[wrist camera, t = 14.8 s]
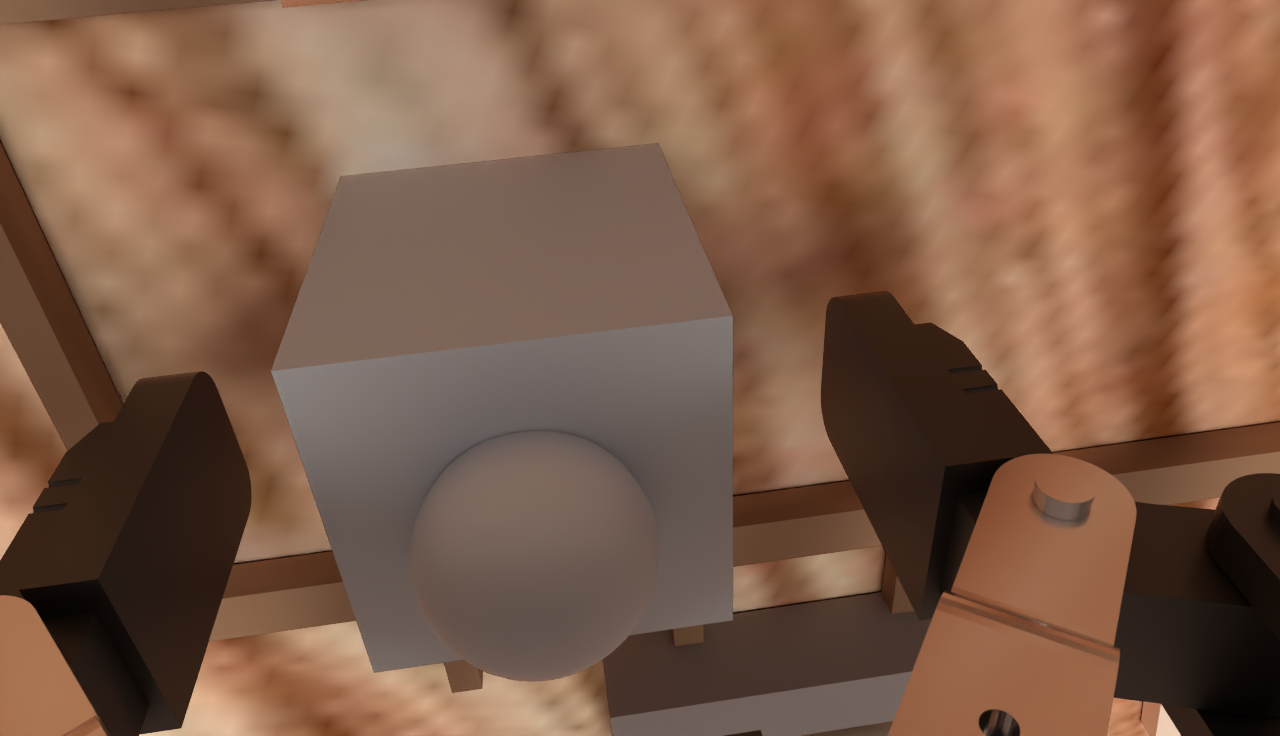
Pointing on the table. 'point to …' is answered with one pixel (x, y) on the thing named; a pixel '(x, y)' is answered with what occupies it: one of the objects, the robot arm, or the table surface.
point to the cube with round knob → (516, 410)
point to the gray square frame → (768, 672)
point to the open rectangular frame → (311, 584)
